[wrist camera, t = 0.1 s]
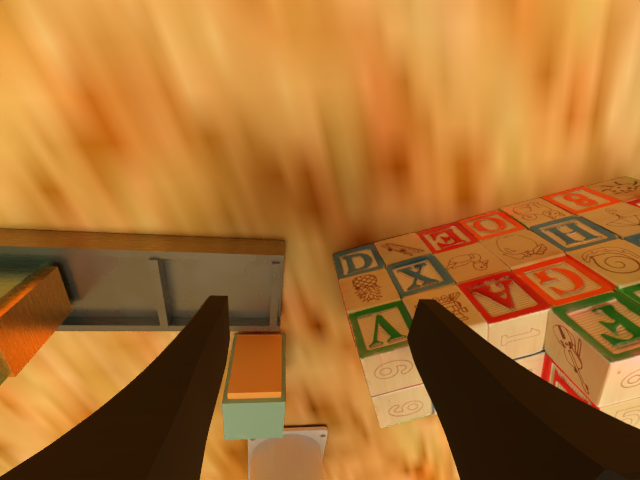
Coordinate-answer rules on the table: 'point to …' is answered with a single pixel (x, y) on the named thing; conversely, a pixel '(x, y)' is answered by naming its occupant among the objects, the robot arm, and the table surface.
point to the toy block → (255, 388)
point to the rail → (128, 285)
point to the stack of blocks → (510, 296)
